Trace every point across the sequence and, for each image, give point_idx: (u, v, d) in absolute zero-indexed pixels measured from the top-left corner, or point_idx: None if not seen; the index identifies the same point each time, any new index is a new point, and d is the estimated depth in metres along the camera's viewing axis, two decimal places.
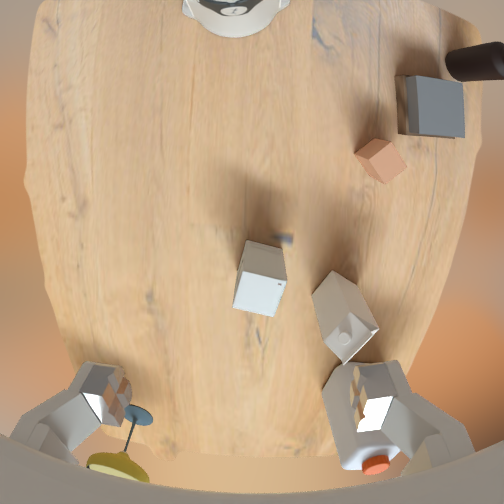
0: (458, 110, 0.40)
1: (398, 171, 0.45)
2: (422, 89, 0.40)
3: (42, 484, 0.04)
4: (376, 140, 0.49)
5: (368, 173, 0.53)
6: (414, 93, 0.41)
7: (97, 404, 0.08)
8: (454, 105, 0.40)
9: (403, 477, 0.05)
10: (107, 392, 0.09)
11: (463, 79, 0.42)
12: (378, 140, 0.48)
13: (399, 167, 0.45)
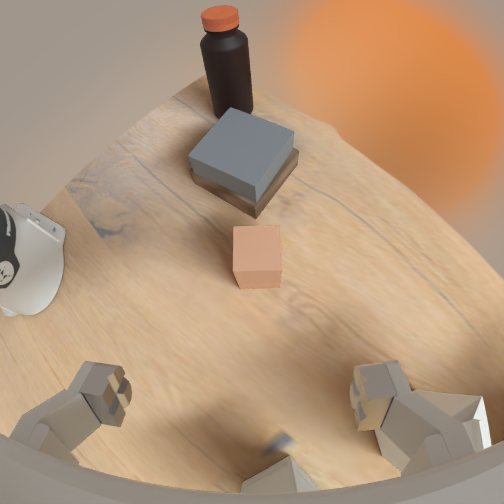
0: (257, 124, 0.39)
1: (277, 240, 0.33)
2: (207, 156, 0.38)
3: (42, 484, 0.04)
4: None
5: (274, 286, 0.39)
6: (208, 169, 0.38)
7: (97, 404, 0.08)
8: (248, 127, 0.39)
9: (403, 477, 0.05)
10: (107, 392, 0.09)
11: (244, 107, 0.47)
12: None
13: (273, 236, 0.33)
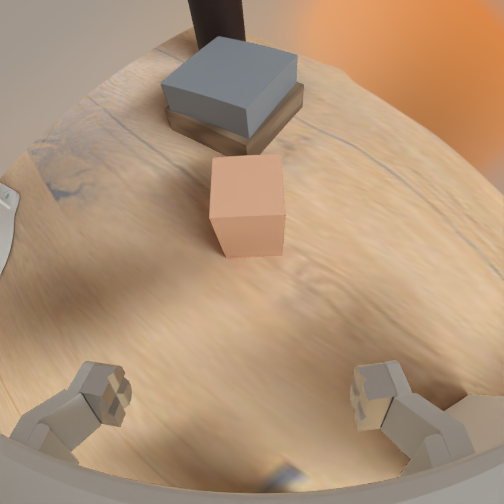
0: (250, 49, 0.28)
1: (277, 174, 0.21)
2: (185, 81, 0.26)
3: (42, 484, 0.04)
4: None
5: (275, 253, 0.27)
6: (186, 97, 0.27)
7: (97, 404, 0.08)
8: (239, 52, 0.28)
9: (403, 477, 0.05)
10: (106, 392, 0.09)
11: None
12: None
13: (271, 168, 0.22)
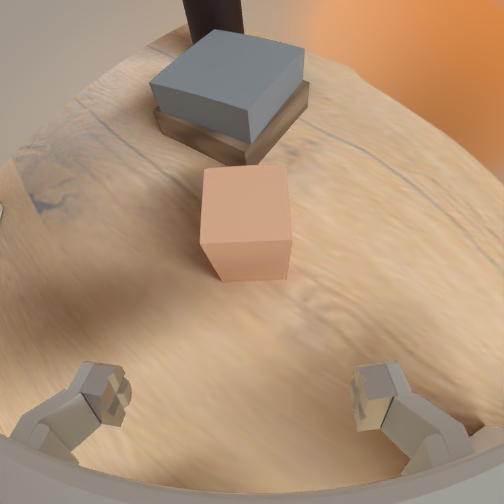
0: (250, 43, 0.24)
1: (282, 188, 0.18)
2: (177, 79, 0.23)
3: (42, 484, 0.04)
4: None
5: (278, 277, 0.24)
6: (178, 97, 0.23)
7: (97, 404, 0.08)
8: (238, 45, 0.24)
9: (403, 477, 0.05)
10: (107, 392, 0.09)
11: None
12: None
13: (274, 181, 0.18)
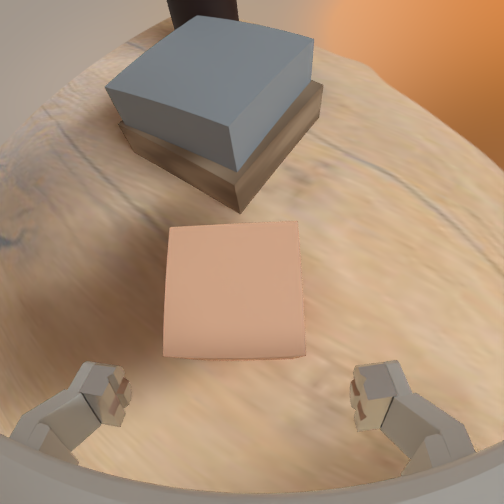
0: (242, 31, 0.18)
1: (291, 266, 0.11)
2: (138, 81, 0.16)
3: (42, 484, 0.04)
4: None
5: None
6: (139, 106, 0.17)
7: (97, 404, 0.08)
8: (225, 34, 0.18)
9: (403, 477, 0.05)
10: (107, 392, 0.09)
11: None
12: None
13: (278, 252, 0.11)
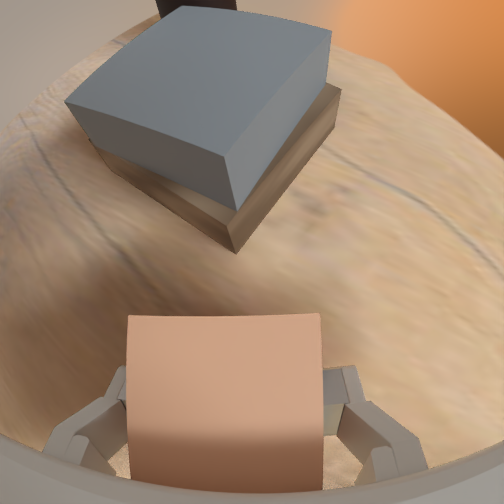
0: (238, 21, 0.13)
1: (308, 385, 0.07)
2: (104, 92, 0.12)
3: (42, 484, 0.04)
4: None
5: None
6: (106, 125, 0.13)
7: None
8: (216, 26, 0.13)
9: (403, 477, 0.05)
10: None
11: None
12: None
13: (290, 365, 0.07)
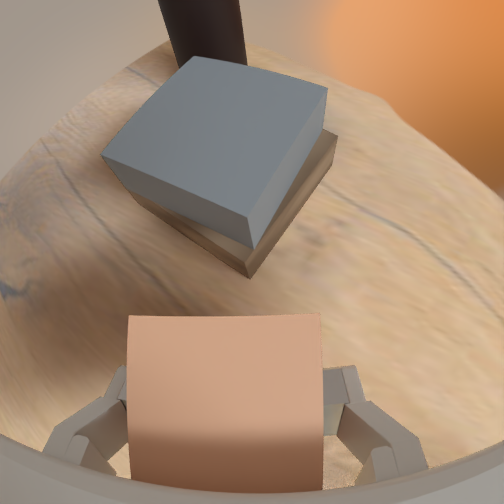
0: (247, 78, 0.17)
1: (308, 385, 0.07)
2: (138, 150, 0.16)
3: (42, 484, 0.04)
4: None
5: None
6: (142, 179, 0.16)
7: None
8: (228, 84, 0.17)
9: (403, 477, 0.05)
10: None
11: None
12: None
13: (290, 365, 0.07)
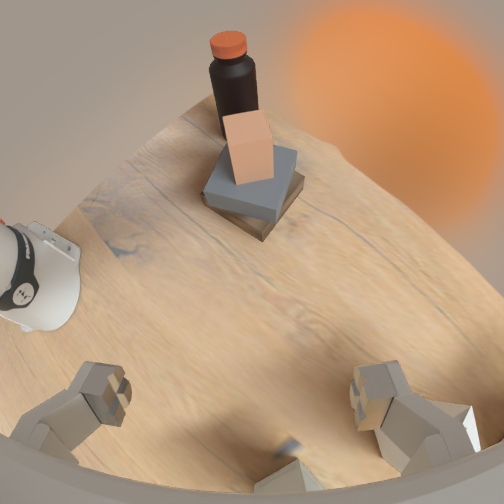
0: None
1: (263, 119, 0.34)
2: (223, 188, 0.40)
3: (42, 484, 0.04)
4: None
5: (268, 175, 0.40)
6: (226, 200, 0.41)
7: (97, 404, 0.08)
8: None
9: (403, 477, 0.05)
10: (107, 392, 0.09)
11: None
12: None
13: (259, 117, 0.34)
